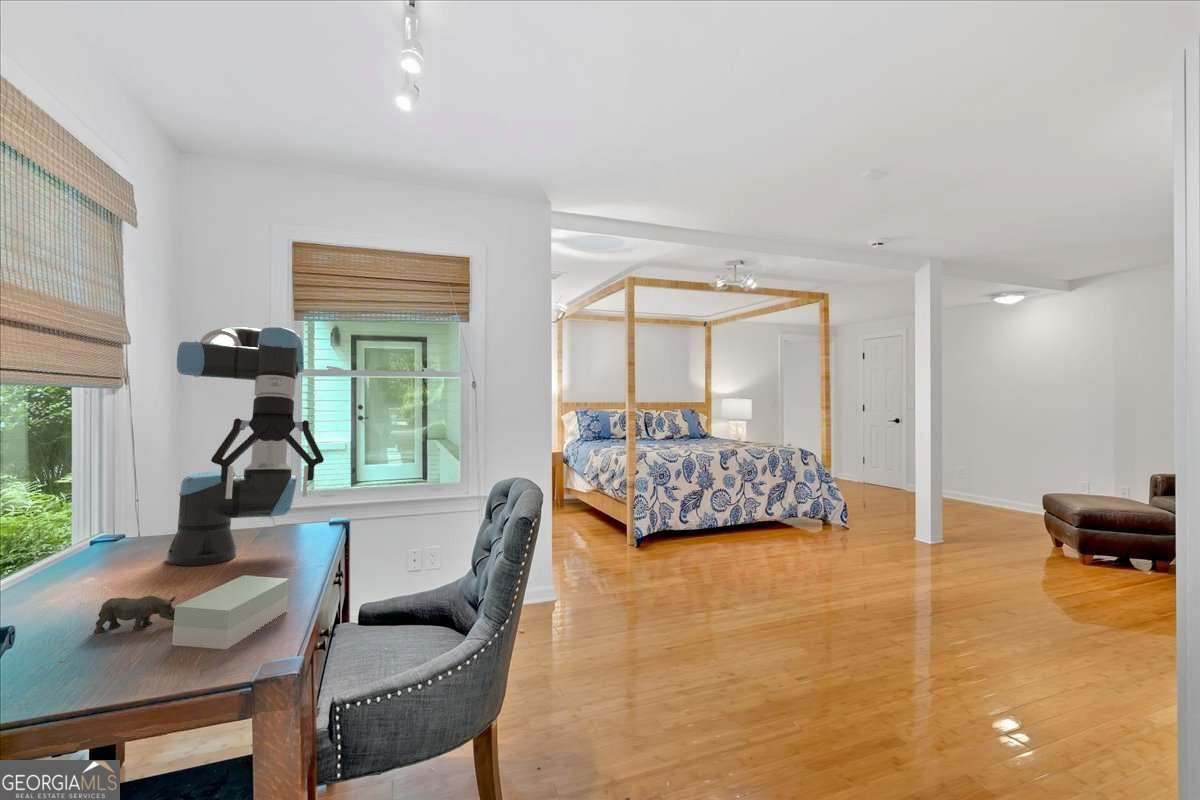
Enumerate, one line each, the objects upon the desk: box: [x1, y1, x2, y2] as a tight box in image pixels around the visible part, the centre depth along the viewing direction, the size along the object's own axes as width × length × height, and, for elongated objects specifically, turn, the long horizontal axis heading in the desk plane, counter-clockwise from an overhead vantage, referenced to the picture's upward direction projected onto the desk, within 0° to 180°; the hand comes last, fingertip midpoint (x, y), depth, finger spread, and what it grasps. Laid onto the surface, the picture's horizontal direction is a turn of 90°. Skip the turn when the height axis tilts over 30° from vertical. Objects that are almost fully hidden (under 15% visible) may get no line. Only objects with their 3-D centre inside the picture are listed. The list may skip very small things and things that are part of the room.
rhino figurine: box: [93, 595, 177, 634], centre depth 104 cm, size 4×14×6 cm, turn 112°
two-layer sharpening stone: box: [171, 574, 290, 650], centre depth 106 cm, size 18×10×7 cm, turn 178°
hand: (267, 497), depth 113 cm, fingers open, 13 cm apart
